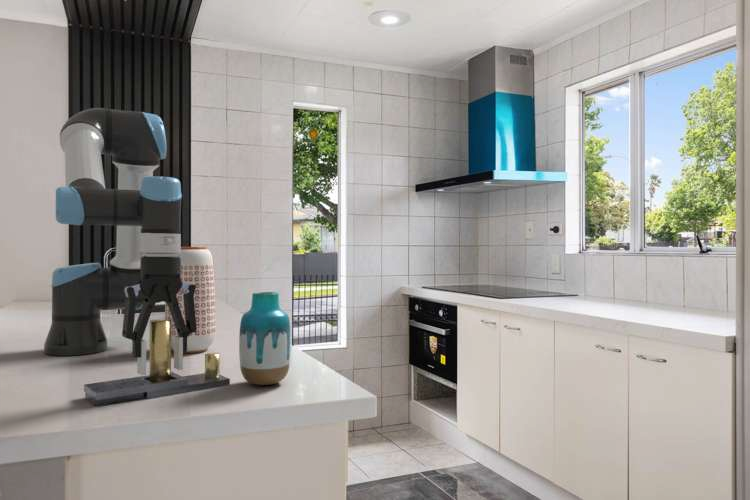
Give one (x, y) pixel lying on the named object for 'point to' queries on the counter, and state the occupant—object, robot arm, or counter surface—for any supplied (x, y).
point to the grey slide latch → (156, 385)
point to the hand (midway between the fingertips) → (160, 370)
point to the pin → (160, 350)
